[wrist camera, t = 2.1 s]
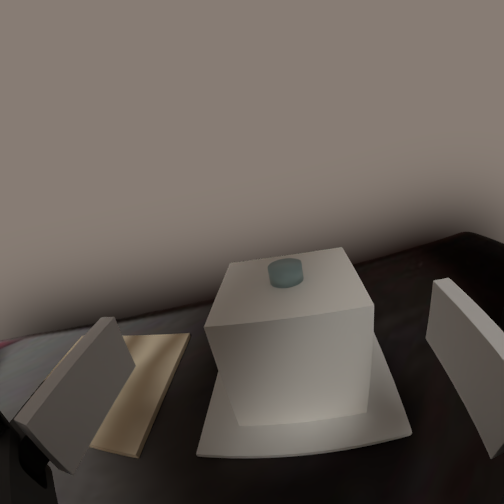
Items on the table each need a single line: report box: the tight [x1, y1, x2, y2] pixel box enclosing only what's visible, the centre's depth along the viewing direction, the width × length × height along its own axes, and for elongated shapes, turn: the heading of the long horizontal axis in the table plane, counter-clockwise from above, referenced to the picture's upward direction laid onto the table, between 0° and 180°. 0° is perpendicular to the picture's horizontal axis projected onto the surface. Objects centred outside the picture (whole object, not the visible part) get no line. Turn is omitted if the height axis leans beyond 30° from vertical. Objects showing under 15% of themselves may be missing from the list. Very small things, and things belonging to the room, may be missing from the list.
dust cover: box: [204, 247, 374, 426], centre depth 22 cm, size 10×10×11 cm
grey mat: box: [196, 331, 412, 458], centre depth 24 cm, size 16×16×1 cm
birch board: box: [30, 333, 191, 459], centre depth 27 cm, size 18×18×1 cm
